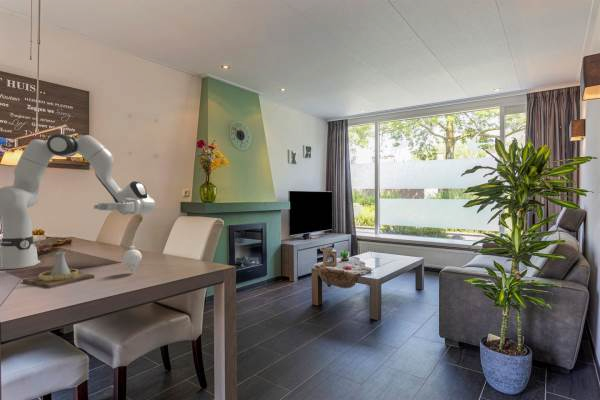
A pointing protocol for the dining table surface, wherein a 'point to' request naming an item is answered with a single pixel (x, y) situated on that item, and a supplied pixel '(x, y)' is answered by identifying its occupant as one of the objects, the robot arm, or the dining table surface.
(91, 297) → the dining table surface
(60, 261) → the flask
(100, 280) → the dining table surface
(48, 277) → the wooden ring
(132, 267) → the spinning top
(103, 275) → the dining table surface
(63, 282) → the walnut board
